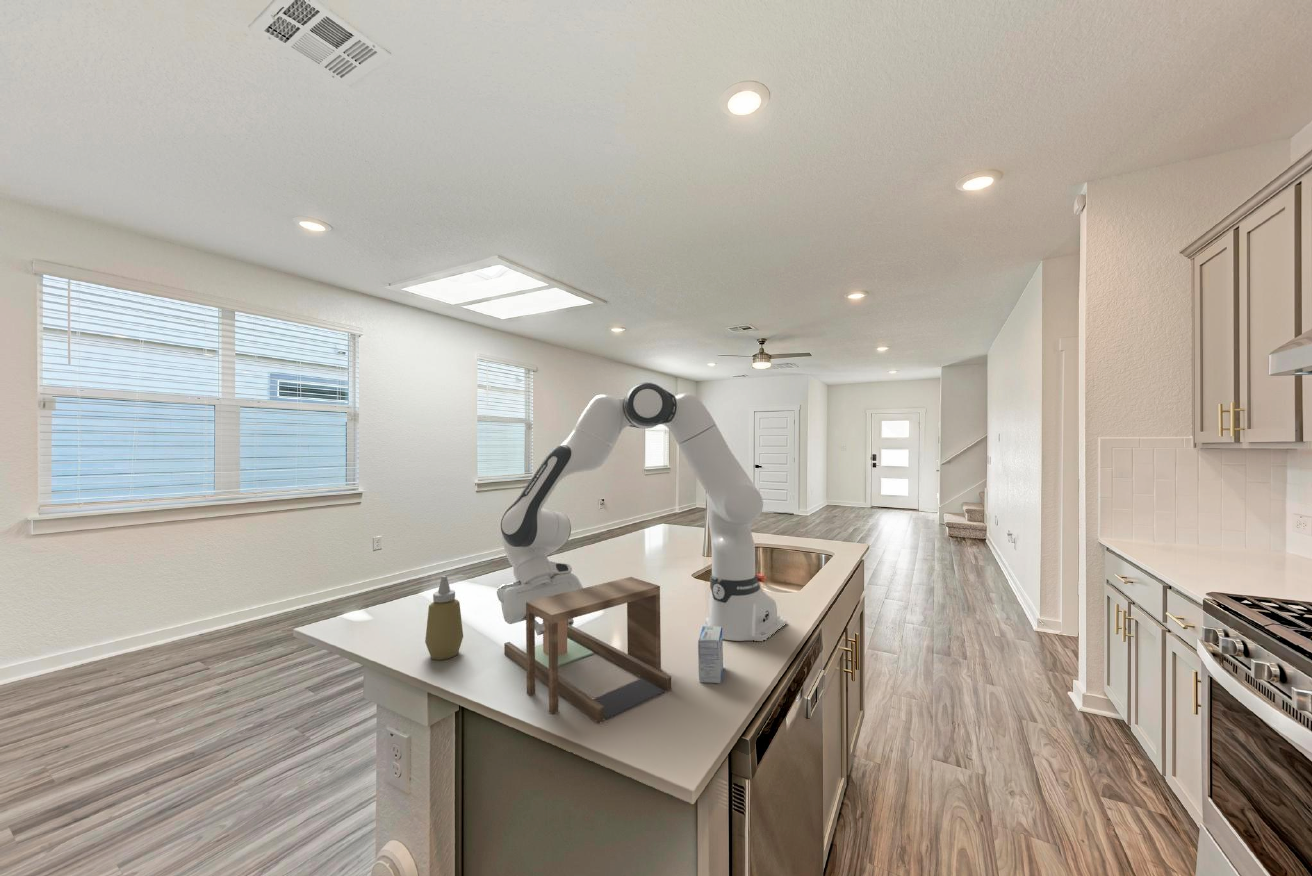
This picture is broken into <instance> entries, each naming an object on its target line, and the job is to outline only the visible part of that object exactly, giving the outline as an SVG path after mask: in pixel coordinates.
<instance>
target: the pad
mask: <svg viewBox="0 0 1312 876" xmlns="http://www.w3.org/2000/svg"><path fill="white" fill-rule="evenodd" d="M522 651H524V652H525V653H526V649H524V650H522ZM593 654H594V651H592V650H590V649H589V648H587V647H585V646H583V645H581V644H580V643H578V642H576V641H574V640H572V639H570V638H569V637H567V653H564V654H561V655H558V667H560V666H563V665H566V664H568V663H572V662H575V661H577V660H580V659H583V658H586V657H589V656H591V655H593ZM535 660H537V661H538V662H540V663H541V664H543V665H544V666H546V667H547V668H549V656H548V655H547V654H545V653H544V652H543V643H542V644H540V645H537V646H536V645H535Z"/></svg>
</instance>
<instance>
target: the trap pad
mask: <svg viewBox="0 0 1312 876" xmlns="http://www.w3.org/2000/svg"><path fill="white" fill-rule="evenodd" d="M665 693H666V691H665V690H663V689H661V688H660V687H658V686H656V685H654V684H652V683H650V682H649V681H647V680H645V679H643V678H641V677H640V678H639V679H637V680H635V681H632V682H630V683H627V684H625V685H623V686H620V687H618V688H616V689H613V690H611V691H609V692H606V693H604V694H601V695H599V696H597V697H594V698H593V699H594V700H595V701H597V702H598V703H600V704H601V705H603V706H604V721H605V720H606V721H607V720H609V719H611V718H614V717H616V716H619V715H620V714H623V713H624V712H627V711H629V710H630V709H632V708H636V707H637V706H640V705H642V704H644V703H646V702H647V701H650V700H652V699H654V698H656V697H658V696H659V697H660V696H661V695H663V694H665Z"/></svg>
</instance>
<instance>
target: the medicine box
mask: <svg viewBox="0 0 1312 876" xmlns="http://www.w3.org/2000/svg"><path fill="white" fill-rule="evenodd" d="M723 640H724V639H722V627H716V626H707V625H705V626H702V628H701V631H700V635H699V638H698V641H697V652H698V653H697V655H698V656H697V657H698V659H697V660H698V662H697V663H698V680H699V681H698V682H699V683H707V684H718V683H720V684H721V683H722V682H721V681H722V676H723V669H724V649H723V648H724V647H723V646H724V645H723V643H724V642H723Z"/></svg>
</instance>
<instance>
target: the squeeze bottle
mask: <svg viewBox="0 0 1312 876" xmlns="http://www.w3.org/2000/svg"><path fill="white" fill-rule="evenodd" d="M432 595H433V596H432V600H433V601H432V602H431V603H430V604H429V605H428V612H427V621H426V633H425V638H424V639H425V642H424V643H425V645H426V648H427V650H428V653H429V656H430V659H433V660H438V661H441V660H447V659H450V658H453V657H455V656H457V655H458V653H459V651H460V649H461V645H462V642H463V639H464V631H463V621H462V613H461V605H460V601H459V599H457V598H456V591H455V590H453V589H451V587H450V584H449V580H448V576H447V575H443V576H440V582H439V587H438V591H435V592H433V594H432Z"/></svg>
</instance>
